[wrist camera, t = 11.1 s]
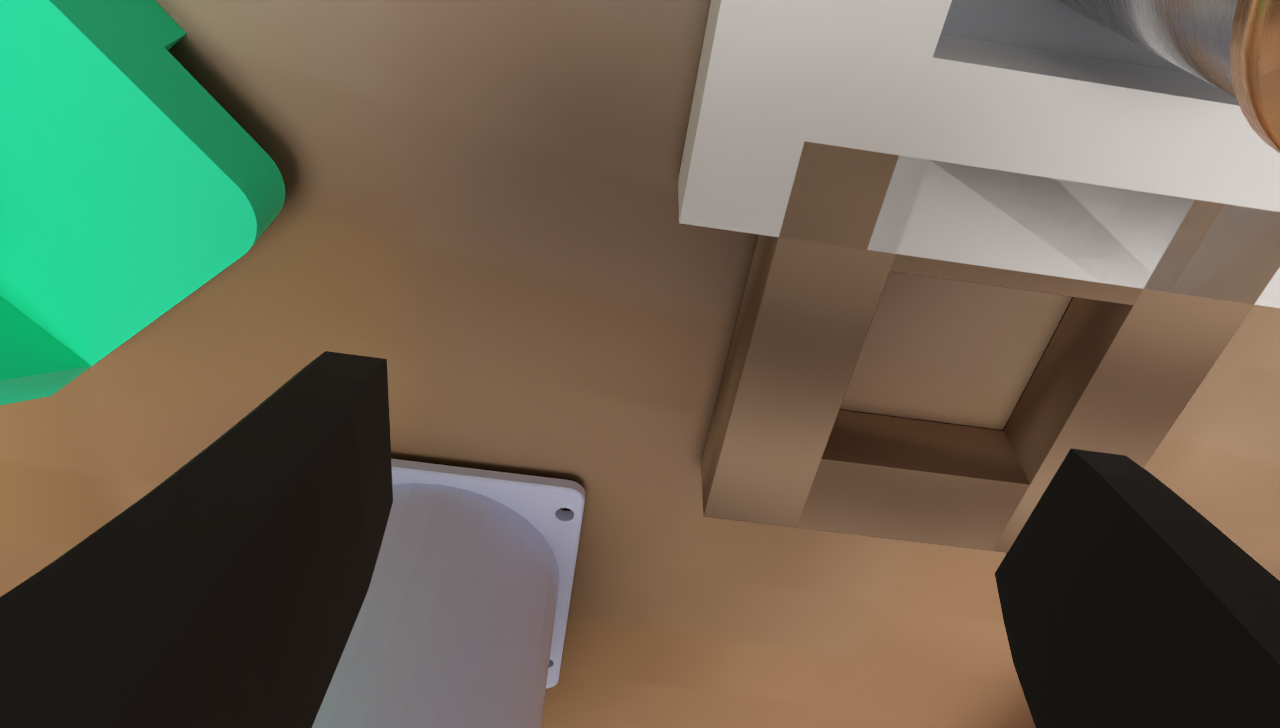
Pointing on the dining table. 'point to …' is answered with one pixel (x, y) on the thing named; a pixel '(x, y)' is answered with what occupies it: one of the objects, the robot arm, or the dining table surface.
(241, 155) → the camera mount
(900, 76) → the dock plate
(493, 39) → the dining table surface
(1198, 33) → the pin
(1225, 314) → the mount block
